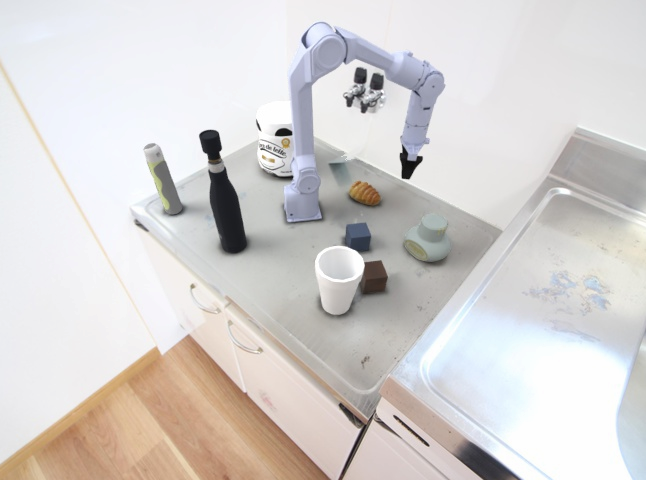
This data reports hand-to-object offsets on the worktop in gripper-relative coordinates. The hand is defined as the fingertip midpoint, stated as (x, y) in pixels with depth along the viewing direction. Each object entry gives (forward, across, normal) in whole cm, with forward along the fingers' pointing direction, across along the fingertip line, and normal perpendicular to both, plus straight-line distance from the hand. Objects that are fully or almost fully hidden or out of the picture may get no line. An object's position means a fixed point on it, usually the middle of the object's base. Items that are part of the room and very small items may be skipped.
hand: (405, 170), depth 92 cm
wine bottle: (+10, -27, +41) cm, 50 cm away
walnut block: (+10, -34, +6) cm, 35 cm away
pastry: (+10, -1, +10) cm, 14 cm away
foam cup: (+10, -40, +13) cm, 43 cm away
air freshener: (+10, -20, -7) cm, 24 cm away
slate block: (+10, -21, +10) cm, 25 cm away
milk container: (+10, +10, +37) cm, 39 cm away
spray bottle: (+10, -17, +63) cm, 66 cm away
